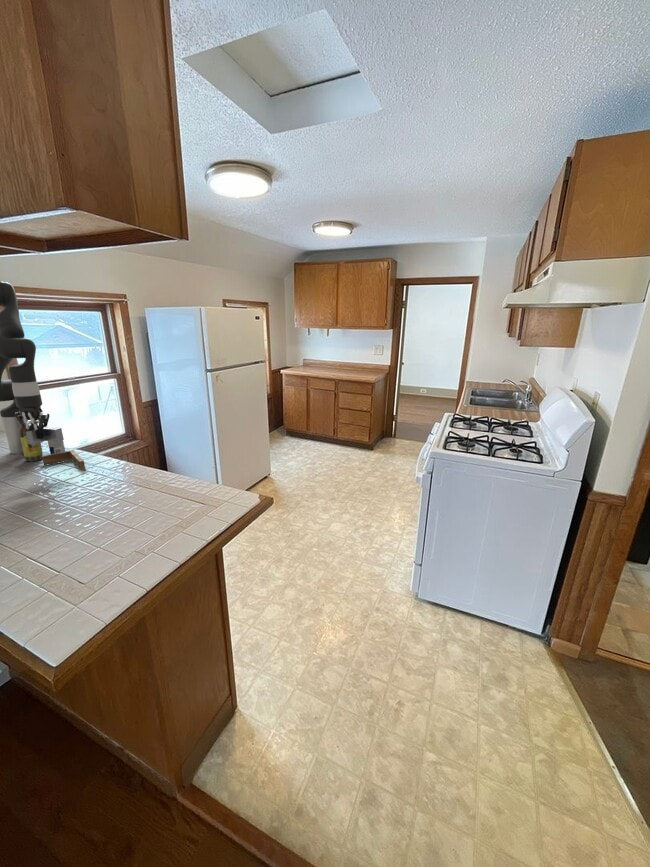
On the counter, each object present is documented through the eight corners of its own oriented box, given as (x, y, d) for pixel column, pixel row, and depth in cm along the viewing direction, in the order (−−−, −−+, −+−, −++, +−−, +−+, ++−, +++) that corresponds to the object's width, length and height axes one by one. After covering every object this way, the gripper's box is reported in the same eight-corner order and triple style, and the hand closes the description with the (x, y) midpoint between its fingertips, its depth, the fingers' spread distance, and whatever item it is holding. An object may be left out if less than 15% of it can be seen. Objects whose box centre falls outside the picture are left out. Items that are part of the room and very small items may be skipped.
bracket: (45, 438, 137) (43, 426, 136) (63, 440, 136) (61, 427, 134) (28, 444, 131) (25, 431, 129) (47, 445, 129) (44, 433, 128)
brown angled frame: (43, 464, 145) (41, 455, 144) (74, 458, 152) (73, 449, 151) (52, 477, 132) (49, 467, 131) (85, 469, 140) (83, 460, 139)
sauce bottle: (32, 462, 147) (21, 417, 141) (21, 460, 148) (10, 416, 143) (47, 457, 153) (37, 414, 147) (37, 456, 154) (27, 412, 149)
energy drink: (54, 455, 156) (48, 429, 152) (68, 454, 157) (62, 428, 154) (49, 459, 151) (43, 433, 148) (63, 458, 153) (57, 432, 149)
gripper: (52, 393, 130) (61, 436, 135) (21, 391, 132) (31, 434, 137) (33, 396, 123) (43, 442, 128) (0, 394, 125) (12, 439, 130)
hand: (37, 437), depth 132 cm, fingers closed on bracket, 2 cm apart
